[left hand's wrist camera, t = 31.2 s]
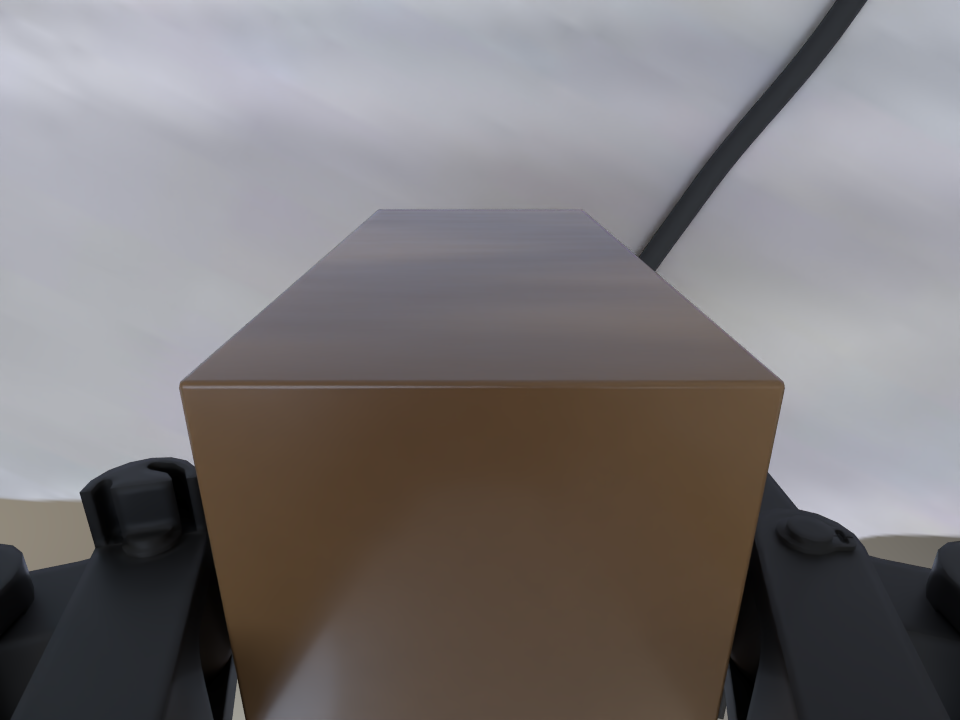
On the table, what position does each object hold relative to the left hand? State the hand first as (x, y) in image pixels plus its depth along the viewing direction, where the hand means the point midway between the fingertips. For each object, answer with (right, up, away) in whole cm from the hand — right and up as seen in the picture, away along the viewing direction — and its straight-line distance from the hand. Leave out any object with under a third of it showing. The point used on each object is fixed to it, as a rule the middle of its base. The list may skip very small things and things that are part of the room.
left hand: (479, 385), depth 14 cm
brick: (0, +1, +2) cm, 2 cm away
